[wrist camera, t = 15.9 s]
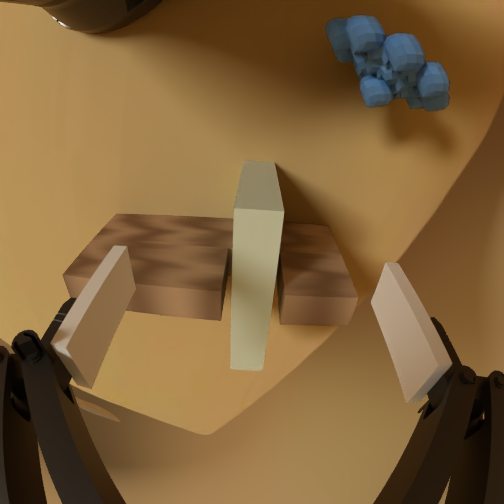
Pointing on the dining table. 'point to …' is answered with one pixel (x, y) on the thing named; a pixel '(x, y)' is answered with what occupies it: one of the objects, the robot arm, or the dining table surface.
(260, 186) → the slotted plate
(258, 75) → the dining table surface
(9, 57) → the dining table surface
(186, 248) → the slotted board
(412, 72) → the grapes
